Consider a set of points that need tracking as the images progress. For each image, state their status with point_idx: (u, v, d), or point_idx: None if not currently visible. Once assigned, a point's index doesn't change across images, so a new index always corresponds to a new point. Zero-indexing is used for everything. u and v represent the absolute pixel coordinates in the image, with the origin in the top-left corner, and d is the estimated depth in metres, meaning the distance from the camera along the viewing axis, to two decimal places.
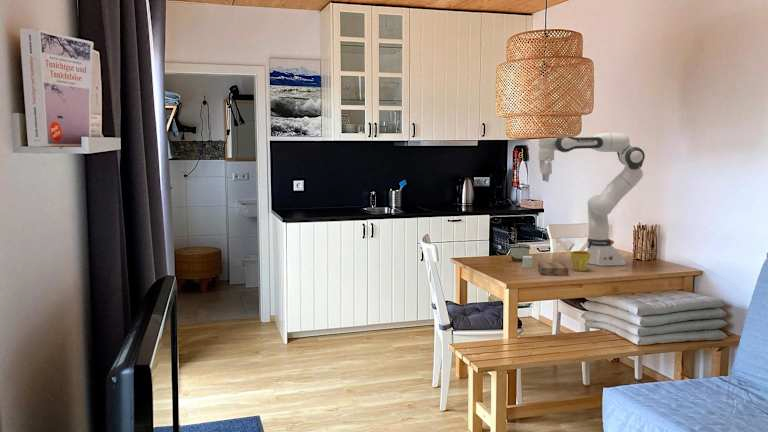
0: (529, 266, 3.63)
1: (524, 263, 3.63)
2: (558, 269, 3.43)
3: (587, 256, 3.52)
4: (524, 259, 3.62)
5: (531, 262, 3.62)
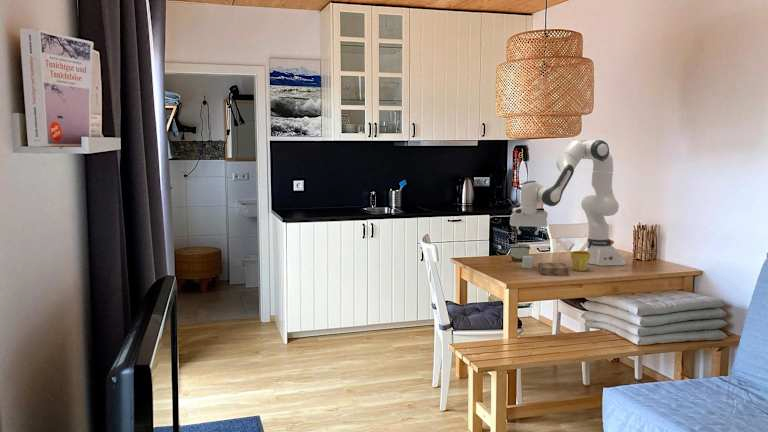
0: (529, 266, 3.63)
1: (524, 263, 3.63)
2: (558, 269, 3.43)
3: (587, 256, 3.52)
4: (524, 259, 3.62)
5: (531, 262, 3.62)
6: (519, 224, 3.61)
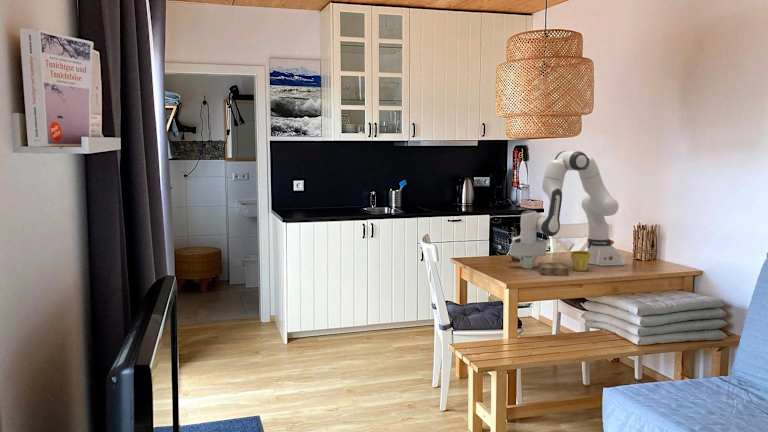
0: (529, 266, 3.63)
1: (524, 263, 3.63)
2: (558, 269, 3.43)
3: (587, 256, 3.52)
4: (524, 259, 3.62)
5: (531, 262, 3.62)
6: (519, 253, 3.63)
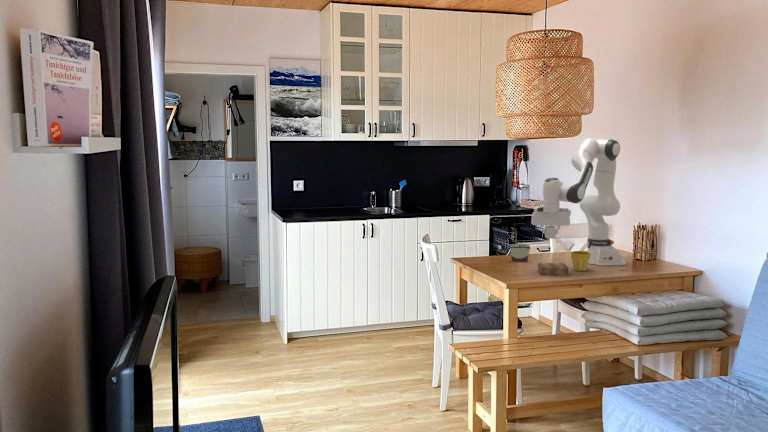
0: (552, 236, 3.47)
1: (547, 233, 3.47)
2: (558, 269, 3.43)
3: (587, 256, 3.52)
4: (547, 229, 3.47)
5: (554, 232, 3.47)
6: (541, 223, 3.48)
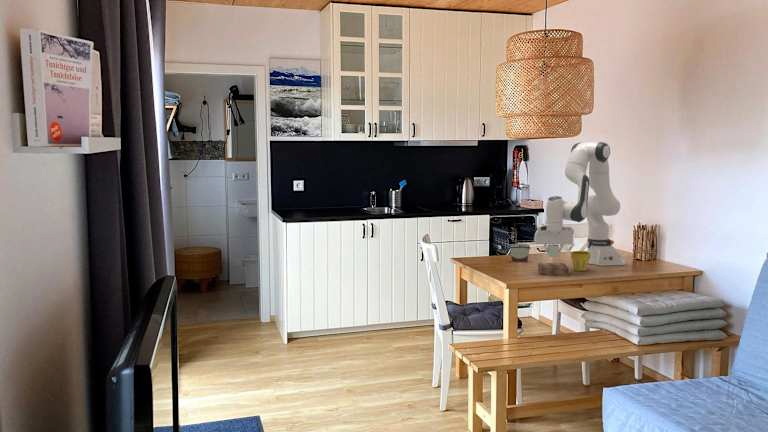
0: (555, 255, 3.46)
1: (550, 252, 3.46)
2: (558, 269, 3.43)
3: (587, 256, 3.52)
4: (550, 247, 3.46)
5: (557, 251, 3.46)
6: (544, 242, 3.47)
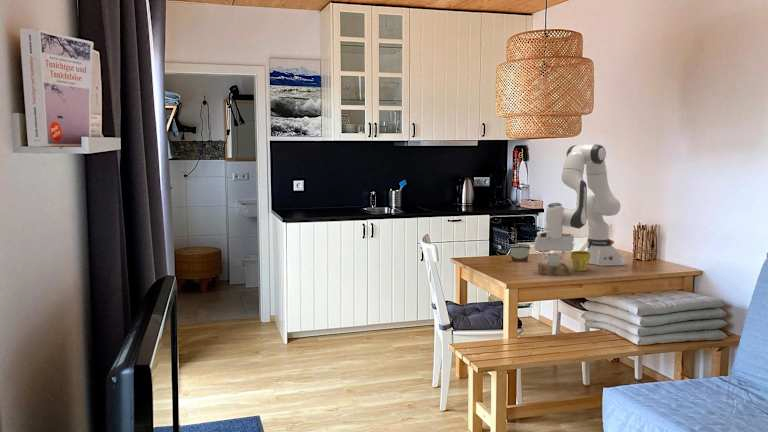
0: (555, 264, 3.47)
1: (550, 261, 3.47)
2: (558, 269, 3.43)
3: (587, 256, 3.52)
4: (550, 257, 3.47)
5: (557, 260, 3.47)
6: (544, 248, 3.47)
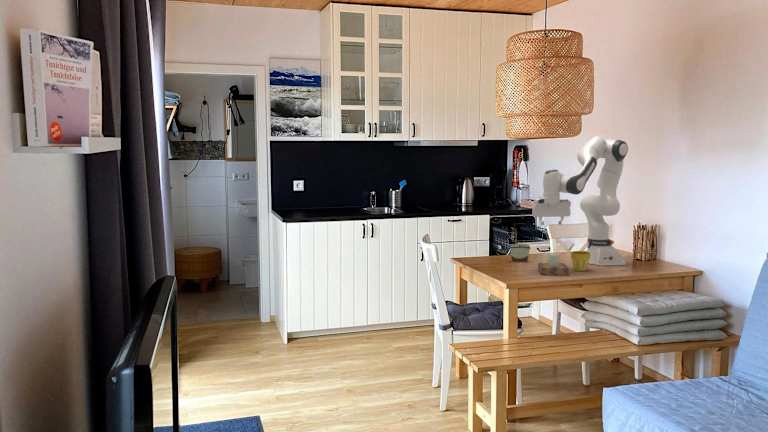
0: (555, 264, 3.47)
1: (550, 261, 3.47)
2: (558, 269, 3.43)
3: (587, 256, 3.52)
4: (550, 257, 3.47)
5: (557, 260, 3.47)
6: (542, 214, 3.53)
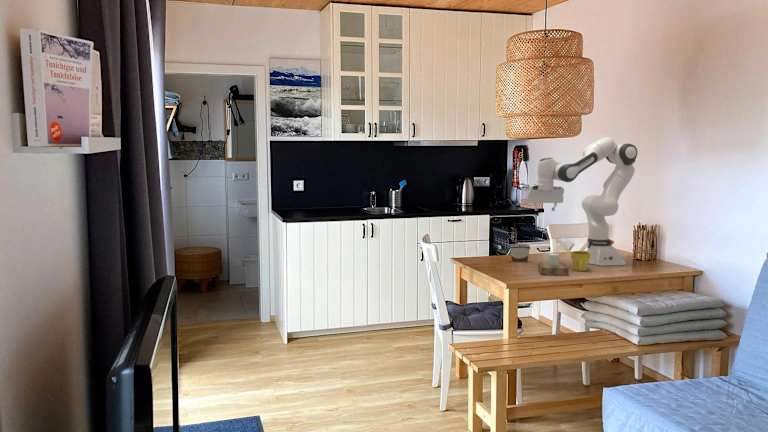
0: (555, 264, 3.47)
1: (550, 261, 3.47)
2: (558, 269, 3.43)
3: (587, 256, 3.52)
4: (550, 257, 3.47)
5: (557, 260, 3.47)
6: (536, 200, 3.67)
